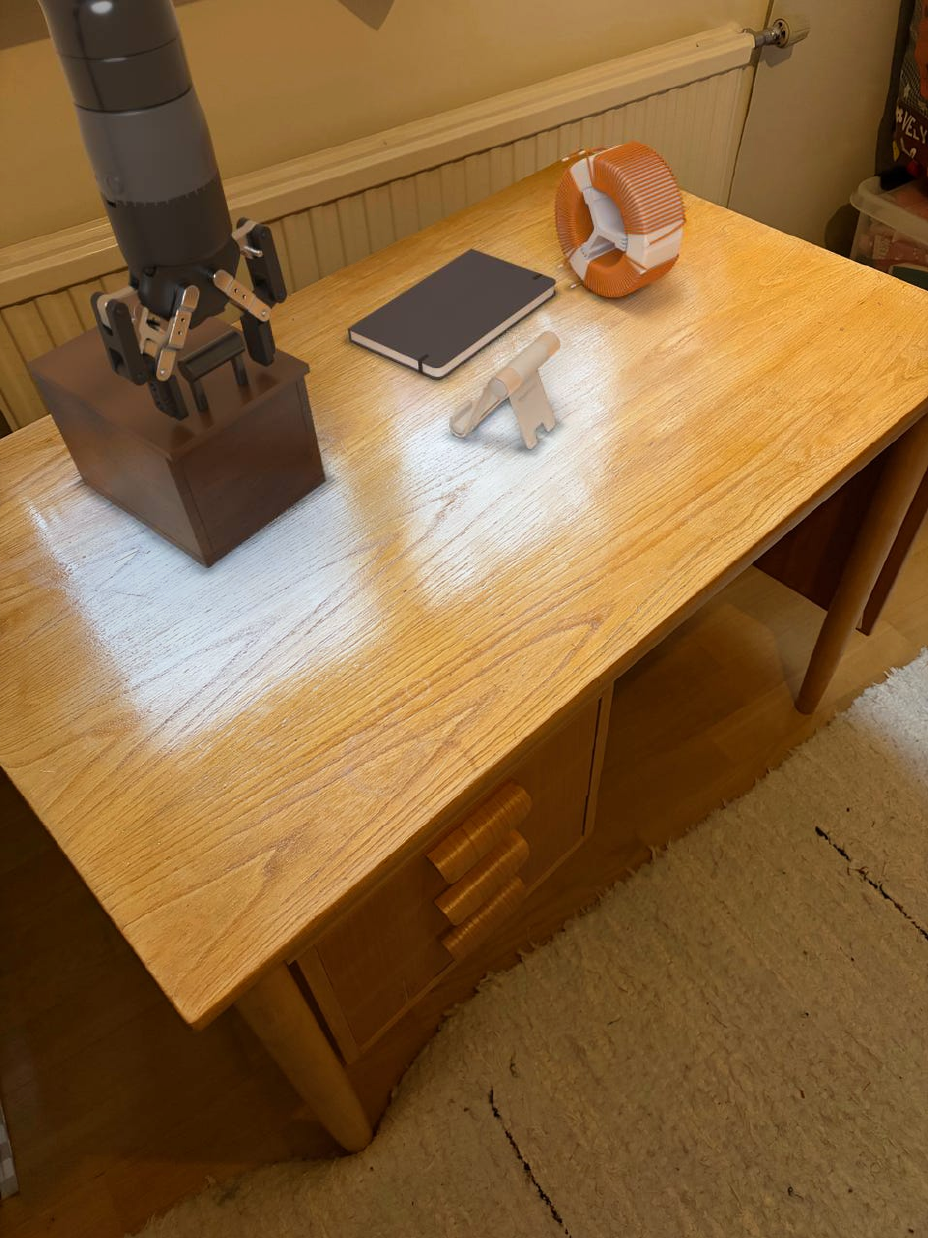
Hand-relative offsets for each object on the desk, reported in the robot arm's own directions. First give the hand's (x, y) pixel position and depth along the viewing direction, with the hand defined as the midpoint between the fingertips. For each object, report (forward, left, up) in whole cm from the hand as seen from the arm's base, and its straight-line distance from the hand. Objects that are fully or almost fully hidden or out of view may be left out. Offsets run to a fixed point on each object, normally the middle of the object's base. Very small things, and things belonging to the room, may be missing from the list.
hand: (220, 387), depth 67 cm
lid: (-5, +5, -1) cm, 7 cm away
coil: (+39, +33, -14) cm, 52 cm away
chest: (-5, +6, -13) cm, 15 cm away
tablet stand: (+24, +10, -14) cm, 29 cm away
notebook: (+21, +30, -14) cm, 39 cm away
